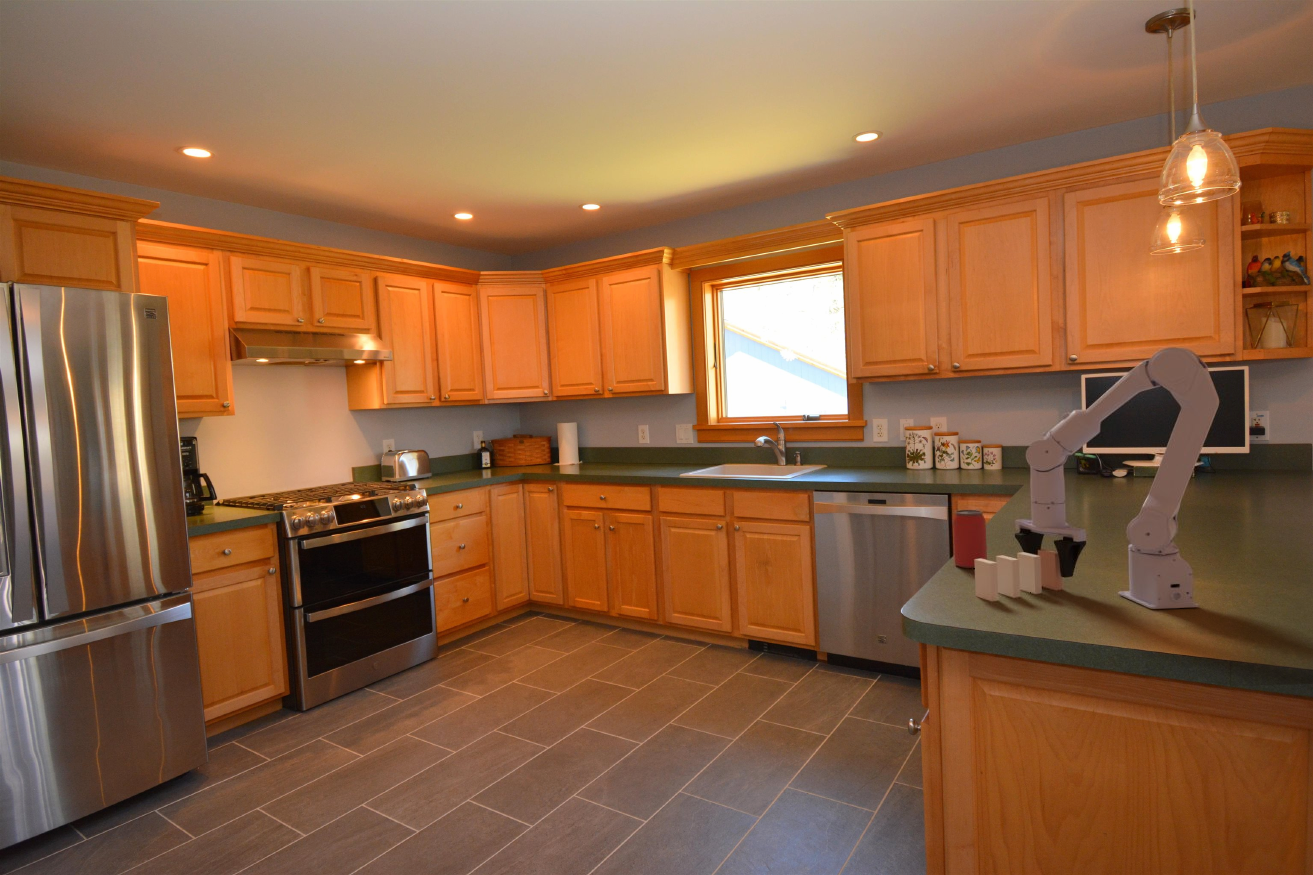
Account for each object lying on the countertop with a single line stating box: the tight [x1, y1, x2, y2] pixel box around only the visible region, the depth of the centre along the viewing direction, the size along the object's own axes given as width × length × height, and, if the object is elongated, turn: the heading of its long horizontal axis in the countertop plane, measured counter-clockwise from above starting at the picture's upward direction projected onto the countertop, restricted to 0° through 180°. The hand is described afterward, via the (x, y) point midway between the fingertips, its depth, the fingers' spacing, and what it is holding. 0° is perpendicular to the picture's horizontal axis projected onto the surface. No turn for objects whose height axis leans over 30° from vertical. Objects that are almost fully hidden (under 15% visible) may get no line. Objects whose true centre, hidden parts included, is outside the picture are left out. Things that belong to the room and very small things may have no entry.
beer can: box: [952, 509, 988, 570], centre depth 154 cm, size 7×7×12 cm
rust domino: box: [1038, 548, 1063, 591], centre depth 135 cm, size 2×4×7 cm, turn 17°
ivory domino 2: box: [995, 555, 1021, 599], centre depth 132 cm, size 2×4×7 cm, turn 17°
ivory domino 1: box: [974, 558, 999, 602], centre depth 130 cm, size 2×4×7 cm, turn 17°
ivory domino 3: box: [1016, 551, 1043, 595], centre depth 133 cm, size 2×4×7 cm, turn 17°
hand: (1050, 572), depth 135 cm, fingers open, 7 cm apart
